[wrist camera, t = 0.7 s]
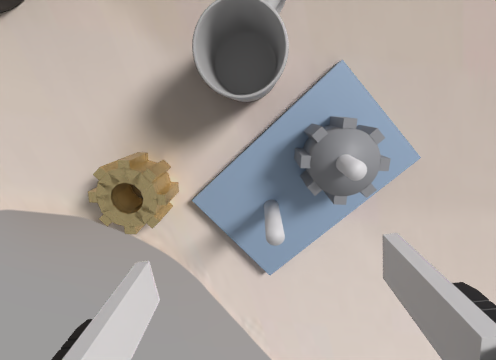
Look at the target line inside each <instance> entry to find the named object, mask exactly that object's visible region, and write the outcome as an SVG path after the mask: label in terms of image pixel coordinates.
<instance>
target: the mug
mask: <svg viewBox="0 0 496 360" xmlns="http://www.w3.org/2000/svg"><path fill="white" fill-rule="evenodd" d="M285 1H286V0H216V1H215V2H213V3H212V4H211V5H210V6H209V7H208V8H207V9H206V10H205V11H204V12H203V14H202V15H201V17H200V19H199V20H198V23H197V25H196V27H195V31H194V35H193V44H192V49H193V57H194V62H195V65H196V68H197V70H198V72H199V74H200V75H201V77H202V79H203V80H204V81H205V82H206V84H207V85H208V86H209V87H210V88H211V89H213V90H214V91H216V92H217V93H219V94H221V95H223V96H225V97H228V98H231V99H234V100H236V101H241V102H250V101H255V100H258V99H260V98H262V97H263V96H265V95H266V94H267V93H269V92H270V91H271V89H272V88H273V87H274V85H275V84H276V82H277V80H278V79H279V78H280V76H281V74H282V72H283V70H284V68H285V65H286V62H287V58H288V35H287V31H286V28H285V25H284V23H283V21H282V19H281V17H280V15H279V14H280V12H281V10H282V8H283V5H284V3H285Z"/></svg>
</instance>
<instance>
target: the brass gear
mask: <svg viewBox="0 0 496 360" xmlns="http://www.w3.org/2000/svg"><path fill="white" fill-rule="evenodd" d="M170 168H171V166H170V165H169V164H168V163H167V162H165V161H164V160H162V161H161V162H159V163H156V162H152V161H149V160H148V153H141V152H137V153H135V154H132V155H129V156H127V157H124V158H121V159H119V160H117V161H114V162H112V163H109V164H106V165H104V166H101V167H99V169H98V170H97V171H96V172H95V173H94V174H93V175H94V176H95V177H96V178H97V179H98V180H99V181H98V184H97V187H96V188H94V189H92V190H90V191H88V196H89V202H92V203H98V205H99V207H100V210H101V212H102V213H103V215H102V216H101V217H100V218H99V220H100V221H102V222H103V223H104V224H105V225H106V226H109V225H110V224H111V223H112V222H113V223H115V224H118V225H122V226H124V229H125V234H137V232H138V231H139V230H140V229H141V228H142V227H143V226H144V225H145V224H146V223H147V224H148V225H149V226H150V227H151V228H153V227H154V226H155V225H157V224H158V223H159V222H160V221H161V219H162V218H163V217H164V216H165V215H166V214H167V212H168V211H169V210H170V209H171V208H172V207H173V205H172V204H171V203H169V202H170V200H171V199H172V198H173V197H174V196H175V195H176V194H177V193H178V192H179V188H178V182H171V181H170V178H169V175H168V173H167V171H168V170H169V169H170ZM131 184H132V185H135V186H136V187H137V188H138V189H139V190H140V191H141V194H142V196H143V198H139V197H138V196H137V195H136V194H135V193H134V192H133V190H132V187H131Z"/></svg>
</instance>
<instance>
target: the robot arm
mask: <svg viewBox="0 0 496 360" xmlns="http://www.w3.org/2000/svg"><path fill="white" fill-rule="evenodd" d="M22 1H23V0H0V13H1V12H5V11H7V10H10V9H12V8H13V7H15V6H17V5H18V4H19V3H20V2H22ZM383 279H384V280H385V281H386V283H387V284H388V286H389V287H390V288H391V290H392V291H393V292H394V294H395V295H396V297H397V298H398V299H399V301H400V302H401V304H402V305H403V306H404V308H405V309H406V310H407V312H408V313H409V315H410V316H411V317H412V319H413V320H414V321H415V323H416V324H417V326H418V327H419V328H420V330H421V331H422V332H423V334H424V335H425V337H426V338H427V339H428V341H429V342H430V344H431V345H432V346H433V348H434V349H435V350H436V352H437V353H438V355H439V356H440V357H441V359H442V360H496V305H495V304H493V303H492V302H491V301H489V299H488V298H486V297H485V296H484V295H483V294H482V293H480V292H479V291H478V290H477V289H475V288H473V287H471V286H469V285H467V284H465V283H463V282H459V283H451V282H450V281H449V280H448V279H447V278H446V277H445V276H444V275H442V274H441V273H440V272H439V271H438V270H437V269H436V268H435V267H434V266H433V265H432V264H430V263H429V262H428V261H427V260H426V259H425V258H424V257H423V256H422V255H421V254H420V253H419V252H417V251H416V250H415V249H414V248H413V247H412V246H411V245H410V244H409V243H408V242H407V241H405V240H404V239H403V238H402V237H401V236H400V235H399V234H398V233H392V234H383ZM159 302H160V298H159V294H158V291H157V287H156V284H155V280H154V276H153V273H152V269H151V266H150V262H149V261H141V262H136V263H135V264H134V266H133V267H132V268H131V270H130V271H129V272H128V274H127V275H126V276H125V278H124V279H123V280H122V282H121V283H120V284H119V286H118V287H117V288H116V289H115V291H114V292H113V293H112V295H111V296H110V297H109V299H108V300H107V301H106V303H105V304H104V305H103V307H102V308H101V309H100V310H99V312H98V313H97V315H96V316H95V317H94V318H93V319H88V320H86V321H85V322H84V323H83V324H82V325H80V326H79V327H78V328H77V329H76V330H75V331H74V333H73V334H72V335H71V336H70V337H69V339H68V341H66V342H65V344H64V345H63V346H62V347H61V350H59V351H58V352H57V353H56V355H55V356H54V357H53V359H52V360H131V359H132V357H133V355H134V353H135V351H136V349H137V347H138V345H139V343H140V340H141V338H142V336H143V334H144V332H145V330H146V328H147V326H148V324H149V322H150V320H151V318H152V316H153V314H154V312H155V310H156V308H157V306H158V304H159Z"/></svg>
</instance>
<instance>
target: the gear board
mask: <svg viewBox="0 0 496 360" xmlns="http://www.w3.org/2000/svg"><path fill="white" fill-rule="evenodd" d="M420 158H421V157H420V156H419V155H418V153H417V152H416V151H415V150H414V148H413V147H412V146H411V145H410V143H409V142H408V141H407V140H406V138H405V137H404V136H403V135H402V133H401V132H400V131H399V130H398V128H397V127H396V126H395V125H394V123H393V122H392V121H391V120H390V118H389V117H388V116H387V115H386V113H385V112H384V111H383V110H382V108H381V107H380V106H379V105H378V103H377V102H376V101H375V100H374V98H373V97H372V96H371V95H370V93H369V92H368V91H367V90H366V89H365V87H364V86H363V85H362V84H361V82H360V81H359V80H358V79H357V77H356V76H355V75H354V74H353V72H352V71H351V70H350V69H349V67H348V66H347V65H346V64H345V62H344V61H343V60H341V61H339V62H338V63H337V64H336V65H335V66H334V67H333V68H332V69H331V70H330V71H329V72H327V73H326V74H325V75H324V76H323V77H322V78H321V79H320V80H319V81H318V82H317V83H316V84H315V85H314V86H313V87H311V88H310V89H309V90H308V91H307V92H306V93H305V94H304V95H303V96H302V97H301V98H300V99H299V100H298V101H297V102H295V103H294V104H293V105H292V106H291V107H290V108H289V109H288V110H287V111H286V112H285V113H284V114H283V115H282V116H281V117H279V118H278V119H277V120H276V121H275V122H274V123H273V124H272V125H271V126H270V127H269V128H268V129H267V130H266V131H265V132H263V133H262V134H261V135H260V136H259V137H258V138H257V139H256V140H255V141H254V142H253V143H252V144H251V145H250V146H249V147H247V148H246V149H245V150H244V151H243V152H242V153H241V154H240V155H239V156H238V157H237V158H236V159H235V160H234V161H232V162H231V163H230V164H229V165H228V166H227V167H226V168H225V169H224V170H223V171H222V172H221V173H220V174H219V175H218V176H216V177H215V178H214V179H213V180H212V181H211V182H210V183H209V184H208V185H207V186H206V187H205V188H204V189H203V190H202V191H200V192H199V193H198V194H197V195H196V196H195V197H194V199H193V200H192V201H193V202H194V203H195V204H196V205H197V206H198V207H199V208H200V209H201V210H202V211H203V212H204V213H205V214H206V215H207V216H208V217H210V218H211V219H212V220H213V221H214V222H215V223H216V224H217V225H218V226H219V227H220V228H221V229H222V230H223V231H224V232H225V233H226V234H227V235H228V236H229V237H230V238H231V239H232V240H233V241H234V242H235V243H237V244H238V245H239V246H240V247H241V248H242V249H243V250H244V251H245V252H246V253H247V254H248V255H249V256H250V257H251V258H252V259H253V260H254V261H255V262H256V263H257V264H258V265H259V266H260V267H261V268H263V269H264V270H265V271H266V272H267V273H268V274H269V275H271V274H273V273H274V272H275V271H276V270H278V269H279V268H280V267H282V266H283V265H284V264H285V263H287V262H288V261H289V260H290V259H292V258H293V257H294V256H296V255H297V254H298V253H299V252H301V251H302V250H303V249H305V248H306V247H307V246H308V245H310V244H311V243H312V242H314V241H315V240H316V239H317V238H319V237H320V236H321V235H323V234H324V233H325V232H326V231H328V230H329V229H330V228H331V227H333V226H334V225H335V224H337V223H338V222H339V221H340V220H342V219H343V218H344V217H346V216H347V215H348V214H349V213H351V212H352V211H353V210H355V209H356V208H357V207H358V206H360V205H361V204H362V203H364V202H365V201H366V200H367V199H369V198H370V197H371V196H372V195H374V194H375V193H376V192H378V191H379V190H380V189H381V188H383V187H384V186H385V185H387V184H388V183H389V182H390V181H392V180H393V179H394V178H396V177H397V176H398V175H399V174H401V173H402V172H403V171H404V170H406V169H407V168H408V167H410V166H411V165H412V164H413V163H415V162H416V161H417V160H419V159H420Z"/></svg>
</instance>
